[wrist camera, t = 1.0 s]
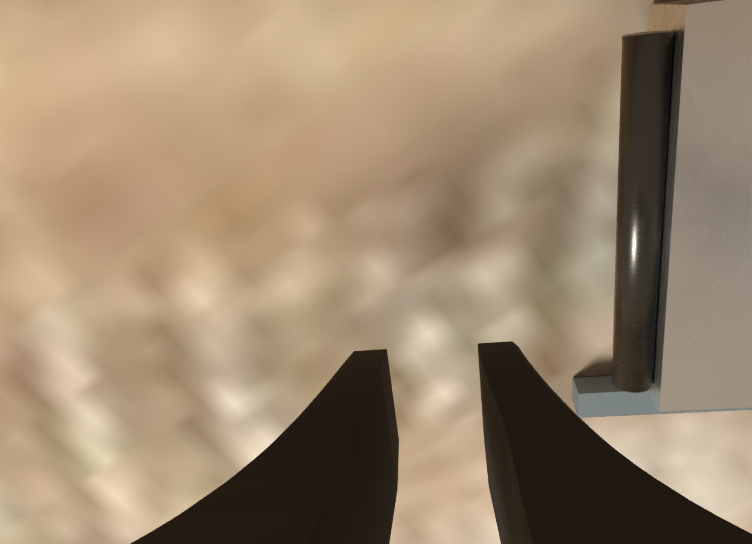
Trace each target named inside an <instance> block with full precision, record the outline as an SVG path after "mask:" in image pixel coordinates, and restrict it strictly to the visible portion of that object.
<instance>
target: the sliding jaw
mask: <svg viewBox="0 0 752 544" xmlns="http://www.w3.org/2000/svg"><path fill="white" fill-rule="evenodd" d="M612 383H613V384H614V386H616V387H617V388H618V389H620V390H623V391H626V392H631V393H640V392H645V391H648V392H649V394H650V396H651V398H652V399H653V401H654V403H655V405H656V407H657V409H658V411H659V412H665V411H687V410H708V409H730V408H752V0H677V1H670V2H662V3H654V4H649V17H648V32H640V33H633V34H627V35H623V36H622V64H621V97H620V130H619V163H618V196H617V229H616V262H615V295H614V328H613V361H612Z"/></svg>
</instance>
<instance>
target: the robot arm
mask: <svg viewBox="0 0 752 544" xmlns="http://www.w3.org/2000/svg"><path fill="white" fill-rule="evenodd" d="M478 355H479V370H480V385H481V400H482V415H483V430H484V442H485V452H486V462H487V472H488V482H489V489H490V493H491V498H492V503H493V508H494V512H495V517H496V522H497V527H498V531H499V536H500V541H501V544H752V534H751V533H749V532H747V531H745V530H743V529H741V528H739V527H737V526H735V525H733V524H732V523H730V522H728V521H726V520H724V519H722V518H720V517H718V516H716V515H715V514H713V513H711V512H709V511H708V510H706V509H704V508H702V507H701V506H699V505H697V504H695V503H693V502H692V501H690V500H688V499H687V498H685V497H684V496H682V495H681V494H679V493H677V492H676V491H674V490H673V489H671V488H669V487H668V486H666V485H665V484H663V483H662V482H660V481H658V480H657V479H655V478H654V477H652V476H651V475H649V474H648V473H646V472H645V471H644V470H642V469H641V468H639V467H638V466H636V465H635V464H634V463H632V462H631V461H630V460H628V459H627V458H626V457H625V456H623V455H622V454H621V453H619V452H618V451H617V450H615V449H614V448H613V447H612V446H610V445H609V444H608V443H607V442H606V441H605V440H603V439H602V438H601V437H600V436H599V435H598V434H597V433H595V432H594V431H593V430H592V429H591V428H590V427H589V426H588V425H587V424H586V423H585V422H584V421H582V420H581V419H580V418H579V417H578V416H577V415H576V414H575V413H574V412H573V411H572V410H571V409H570V408H569V407H568V406H567V405H566V404H565V403H564V402H563V400H562V399H561V398H560V397H559V396H558V395H557V394H556V393H555V392H554V391H553V390H552V389H551V388H550V387H549V385H548V384H547V383H546V382H545V381H544V380H543V379H542V377H541V376H540V375H539V374H538V372H537V371H536V370H535V369H534V368H533V366H532V365H531V364H530V362H529V361H528V360H527V358H526V357H525V356H524V354H523V353H522V351H521V350H520V348H519V347H518V346H517V345H516V344H515V343H513V342H496V343H480V344H478ZM398 451H399V438H398V430H397V423H396V415H395V408H394V400H393V393H392V385H391V378H390V370H389V363H388V355H387V349H383V350H367V351H354V352H353V353H352V354H351V355H350V357H349V358H348V359H347V360H346V361H345V362H344V364H343V365H342V366H341V367H340V369H339V370H338V371H337V372H336V374H335V375H334V376H333V377H332V378H331V380H330V381H329V382H328V383H327V385H326V386H325V387H324V388H323V389H322V391H321V392H320V393H319V394H318V395H317V396H316V397H315V399H314V400H313V401H312V402H311V403H310V404H309V405H308V407H307V408H306V409H305V410H304V411H303V412H302V413H301V414H300V416H299V417H298V418H297V419H296V420H295V421H294V422H293V423H292V424H291V425H290V426H289V427H288V428H287V429H286V430H285V431H284V432H283V433H282V434H281V435H280V436H279V437H278V438H277V439H276V440H275V441H274V442H273V443H272V444H271V445H270V446H269V447H268V448H267V449H265V450H264V451H263V452H262V453H261V454H260V455H259V456H258V457H256V458H255V459H254V460H253V461H252V462H250V463H249V464H248V465H247V466H246V467H244V468H243V469H242V470H241V471H239V472H238V473H237V474H236V475H235V476H233V477H232V478H231V479H229V480H228V481H227V482H225V483H224V484H223V485H221V486H220V487H218V488H217V489H216V490H214V491H213V492H211V493H210V494H208V495H207V496H206V497H204V498H203V499H201V500H200V501H198V502H197V503H196V504H194V505H193V506H191V507H190V508H188V509H187V510H186V511H184V512H183V513H181V514H180V515H178V516H176V517H175V518H173V519H172V520H170V521H168V522H167V523H165V524H163V525H162V526H160V527H159V528H157V529H155V530H154V531H152V532H150V533H148V534H147V535H145V536H143V537H141V538H140V539H138V540H136V541H134V542H133V543H131V544H389V541H390V535H391V528H392V522H393V515H394V508H395V502H396V495H397V485H398Z"/></svg>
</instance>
